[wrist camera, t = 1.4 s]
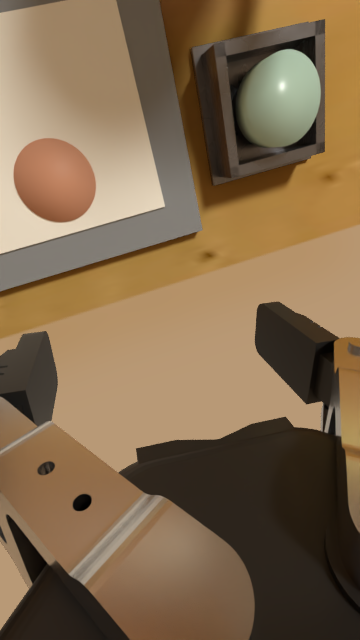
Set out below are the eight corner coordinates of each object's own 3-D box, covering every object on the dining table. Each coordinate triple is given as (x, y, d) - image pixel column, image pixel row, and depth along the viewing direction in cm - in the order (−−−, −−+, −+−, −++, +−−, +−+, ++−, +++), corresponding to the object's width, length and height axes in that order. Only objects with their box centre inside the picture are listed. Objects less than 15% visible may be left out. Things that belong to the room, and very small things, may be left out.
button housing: (212, 185, 29) (225, 187, 27) (190, 48, 24) (204, 34, 22) (308, 158, 31) (330, 157, 28) (305, 23, 26) (332, 6, 23)
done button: (240, 155, 27) (252, 155, 25) (230, 67, 24) (243, 59, 22) (304, 138, 27) (320, 136, 25) (302, 50, 24) (320, 41, 22)
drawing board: (-82, 312, 27) (-89, 319, 26) (-306, 4, 18) (-332, -7, 16) (199, 228, 31) (203, 230, 30) (141, -70, 21) (145, -83, 20)
